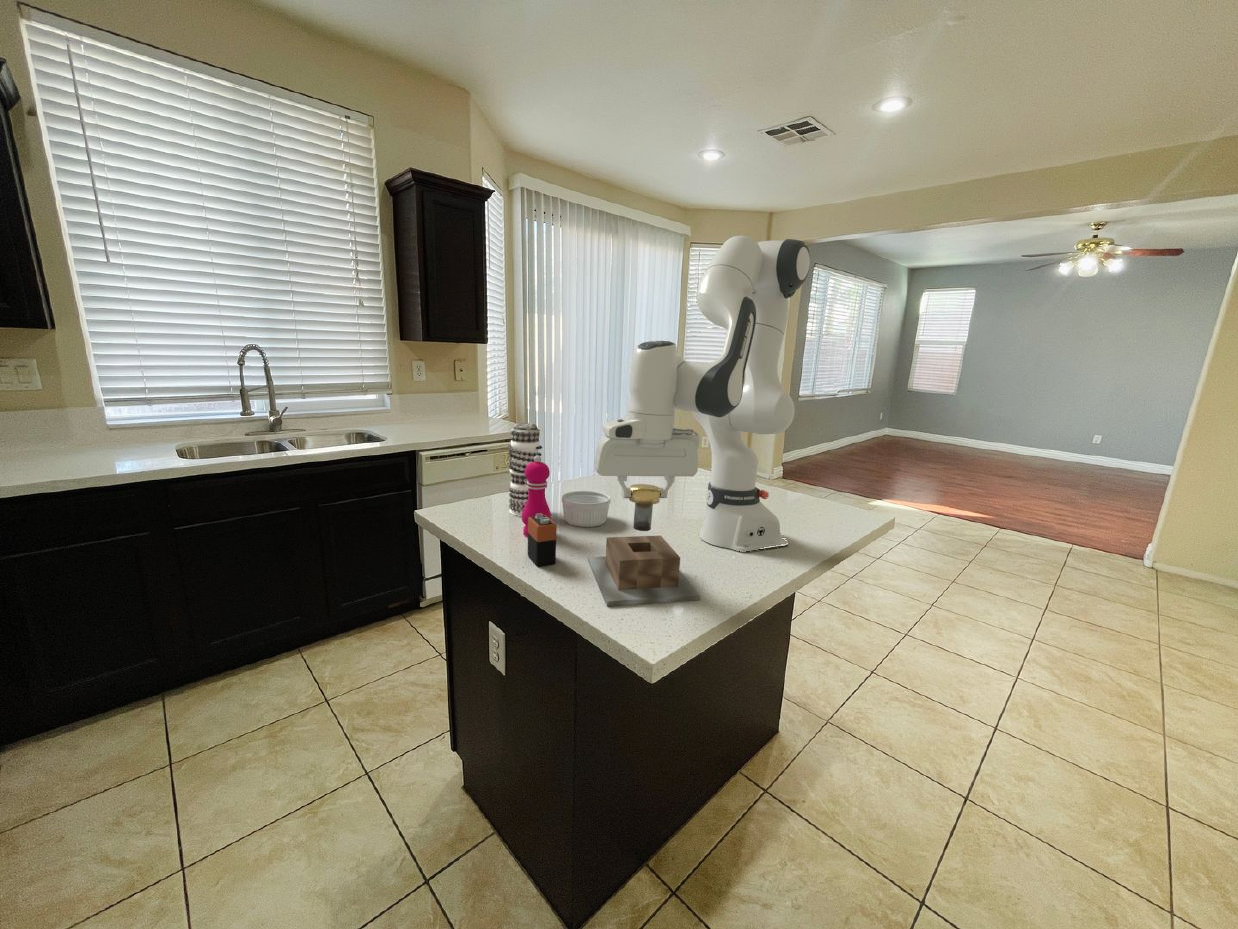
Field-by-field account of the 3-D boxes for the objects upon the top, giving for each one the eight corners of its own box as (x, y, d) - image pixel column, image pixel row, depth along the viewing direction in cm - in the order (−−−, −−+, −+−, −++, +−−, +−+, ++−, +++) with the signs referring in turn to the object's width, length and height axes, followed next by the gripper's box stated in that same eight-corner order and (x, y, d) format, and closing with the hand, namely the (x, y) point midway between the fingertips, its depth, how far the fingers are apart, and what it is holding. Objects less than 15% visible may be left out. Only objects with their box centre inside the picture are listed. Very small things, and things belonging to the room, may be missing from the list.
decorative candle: (527, 504, 145) (528, 421, 139) (547, 512, 139) (549, 425, 133) (501, 511, 138) (501, 423, 132) (521, 519, 132) (522, 427, 127)
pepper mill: (544, 540, 118) (546, 459, 113) (516, 537, 119) (517, 456, 115) (554, 530, 124) (556, 454, 120) (527, 527, 126) (528, 451, 122)
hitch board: (665, 557, 111) (667, 528, 110) (699, 600, 92) (703, 565, 91) (588, 561, 107) (589, 531, 105) (606, 606, 88) (608, 570, 87)
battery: (536, 567, 103) (537, 522, 100) (526, 555, 108) (527, 512, 106) (556, 564, 105) (557, 520, 102) (545, 552, 110) (546, 510, 108)
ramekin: (567, 511, 141) (568, 488, 139) (612, 515, 139) (613, 492, 138) (555, 526, 128) (556, 501, 126) (605, 531, 126) (606, 505, 125)
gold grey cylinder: (651, 523, 101) (655, 484, 99) (661, 533, 95) (664, 491, 93) (623, 523, 99) (626, 483, 97) (631, 533, 93) (634, 491, 92)
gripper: (694, 427, 98) (687, 493, 101) (594, 423, 94) (591, 493, 96) (706, 431, 92) (699, 501, 95) (601, 428, 88) (597, 502, 90)
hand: (644, 497), depth 96 cm, fingers closed on gold grey cylinder, 6 cm apart
